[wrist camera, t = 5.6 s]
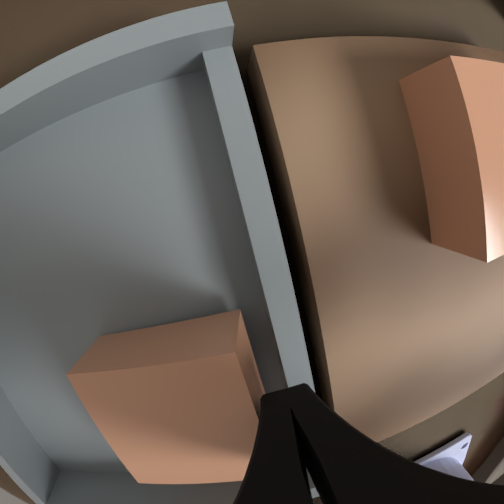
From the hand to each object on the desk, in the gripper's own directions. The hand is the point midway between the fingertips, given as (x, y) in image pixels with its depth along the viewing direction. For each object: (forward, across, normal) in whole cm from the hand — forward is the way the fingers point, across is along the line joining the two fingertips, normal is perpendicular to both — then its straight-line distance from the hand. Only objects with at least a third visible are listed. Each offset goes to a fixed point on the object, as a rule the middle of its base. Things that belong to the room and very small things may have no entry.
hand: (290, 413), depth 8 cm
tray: (+3, +6, -3) cm, 7 cm away
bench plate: (+3, -8, -3) cm, 9 cm away
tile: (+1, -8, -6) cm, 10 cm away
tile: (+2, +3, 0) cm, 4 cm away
